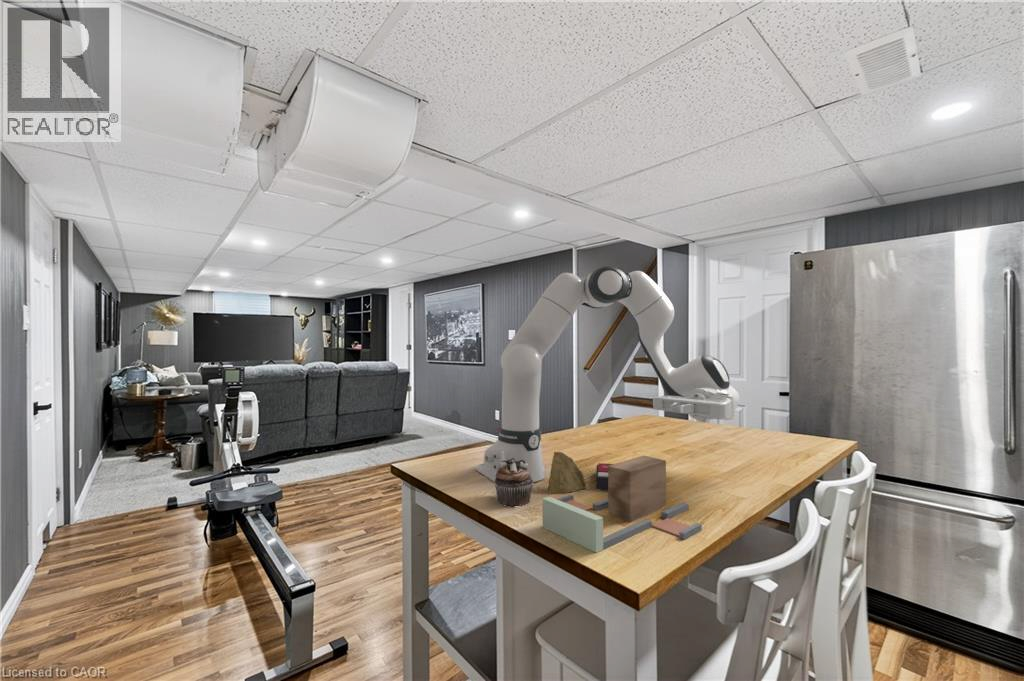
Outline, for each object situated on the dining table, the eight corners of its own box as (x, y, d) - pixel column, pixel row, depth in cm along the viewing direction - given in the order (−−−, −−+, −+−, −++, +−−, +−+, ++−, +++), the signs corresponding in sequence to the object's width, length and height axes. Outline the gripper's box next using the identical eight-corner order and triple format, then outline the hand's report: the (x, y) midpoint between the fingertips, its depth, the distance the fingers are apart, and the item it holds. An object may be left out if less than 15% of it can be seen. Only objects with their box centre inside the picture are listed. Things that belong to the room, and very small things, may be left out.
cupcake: (486, 503, 104) (486, 462, 104) (508, 491, 112) (508, 453, 112) (519, 511, 99) (519, 468, 99) (540, 498, 107) (540, 458, 107)
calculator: (634, 463, 126) (638, 476, 112) (634, 478, 126) (639, 493, 111) (596, 461, 129) (596, 474, 114) (596, 476, 128) (596, 490, 114)
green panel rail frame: (519, 516, 96) (519, 489, 96) (612, 485, 117) (612, 463, 117) (630, 569, 73) (630, 534, 73) (721, 519, 94) (720, 492, 94)
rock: (589, 475, 119) (553, 468, 121) (591, 455, 113) (554, 448, 116) (583, 510, 110) (545, 501, 113) (585, 490, 105) (545, 482, 108)
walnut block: (608, 514, 97) (608, 465, 97) (644, 499, 106) (643, 455, 106) (630, 522, 93) (630, 471, 93) (666, 507, 101) (665, 460, 102)
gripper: (668, 389, 127) (640, 393, 118) (739, 395, 111) (714, 400, 102) (668, 410, 127) (640, 415, 118) (740, 420, 111) (714, 426, 102)
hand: (675, 408), depth 110 cm, fingers closed
